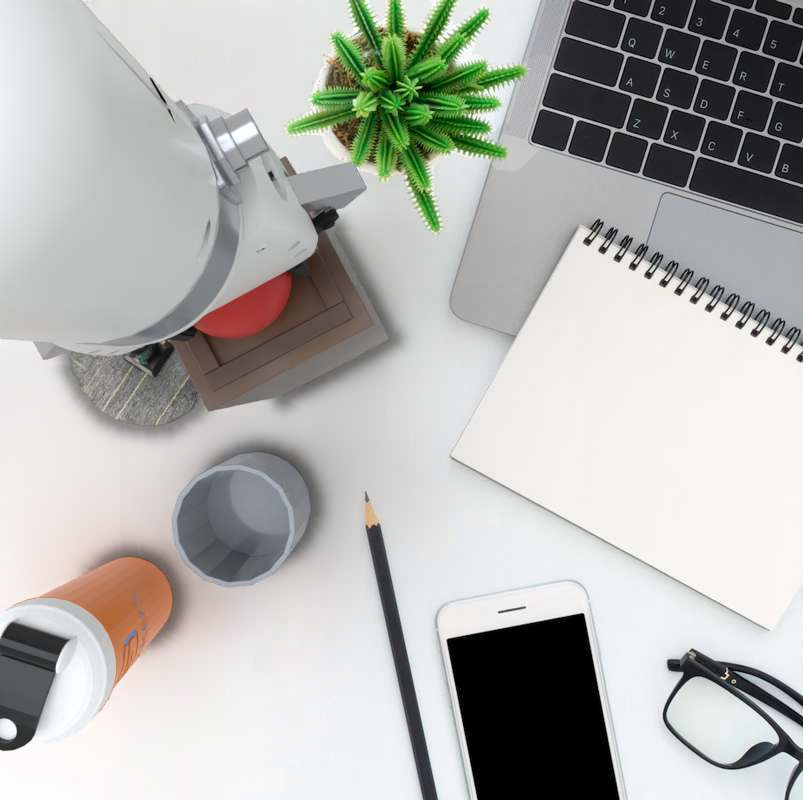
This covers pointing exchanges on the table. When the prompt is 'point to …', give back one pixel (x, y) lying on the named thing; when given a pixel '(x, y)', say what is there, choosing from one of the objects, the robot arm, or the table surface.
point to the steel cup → (241, 519)
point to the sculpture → (137, 383)
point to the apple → (248, 310)
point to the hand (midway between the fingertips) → (235, 280)
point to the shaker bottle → (75, 648)
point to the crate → (289, 335)
